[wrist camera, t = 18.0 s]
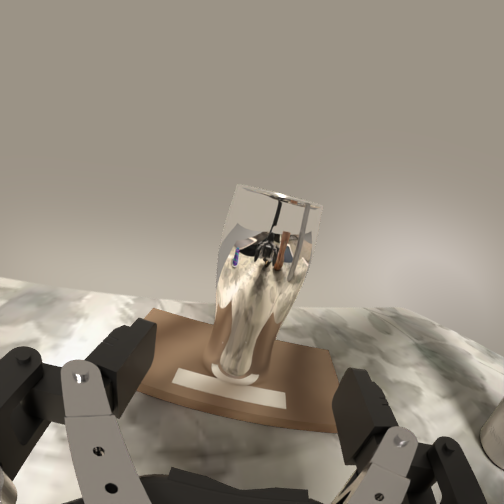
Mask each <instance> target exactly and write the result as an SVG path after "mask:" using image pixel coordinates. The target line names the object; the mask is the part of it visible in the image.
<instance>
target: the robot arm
mask: <svg viewBox="0 0 504 504" xmlns="http://www.w3.org/2000/svg"><path fill="white" fill-rule="evenodd" d="M156 332H157V324H156V323H154V322H151V321H148V320H145V319H142V318H138V319H137V320H136V321H135V322H134V323H133V324H132V326H131V327H129V326H126V325H123V326H121V327H118V328H116V329H114V330H113V331H112V332H111V333H110V334H109V335H108V337H106V338H105V339H104V340H103V342H101V343H100V344H99V345H98V346H97V347H96V348H95V350H94V351H93V352H92V353H91V354H90V355H89V356H88V357H87V358H86V359H85V360H73V361H69V362H67V363H66V364H65V365H64V366H63V367H58V366H53V365H49V364H45V363H42V359H41V355H40V354H39V352H38V351H37V350H35V349H33V348H31V347H24V346H22V347H17V348H14V349H12V350H11V351H10V352H8V353H7V354H6V355H5V356H4V357H3V358H2V359H0V504H16V501H17V490H16V487H15V485H14V484H13V482H12V481H13V480H14V478H15V476H16V475H17V473H18V472H19V470H20V468H21V467H22V465H23V464H24V462H25V460H26V459H27V457H28V456H29V454H30V453H31V451H32V450H33V448H34V447H35V445H36V443H37V442H38V440H39V439H40V437H41V436H42V435H43V433H44V432H45V430H46V429H47V427H48V426H49V424H50V423H51V421H52V422H56V423H60V424H64V425H65V426H66V431H67V437H68V442H69V447H70V452H71V456H72V461H73V465H74V469H75V473H76V476H77V480H78V484H79V487H80V490H81V494H82V498H79V499H76V500H73V501H70V502H66V503H63V504H323V503H321V502H319V501H316V500H313V499H309V497H308V490H303V489H287V488H266V489H253V490H239V489H236V488H233V487H231V486H228V485H226V484H223V483H221V482H218V481H216V480H214V479H211V478H209V477H207V476H203V475H199V474H195V473H191V472H187V471H184V470H180V469H177V468H173V467H171V470H170V473H169V475H163V474H153V475H144V476H138V474H137V472H136V470H135V467H134V465H133V462H132V460H131V458H130V455H129V453H128V450H127V447H126V445H125V442H124V440H123V437H122V434H121V431H120V428H119V425H118V423H117V420H116V418H118V419H120V417H121V415H122V414H123V412H124V410H125V409H126V407H127V405H128V404H129V402H130V400H131V399H132V397H133V395H134V394H135V392H136V390H137V389H138V387H139V385H140V384H141V382H142V380H143V379H144V377H145V375H146V374H147V372H148V370H149V369H150V367H151V365H152V362H153V359H154V353H155V342H156ZM388 405H389V404H388V402H387V400H386V399H385V395H384V393H383V391H382V389H381V388H380V387H379V386H378V385H377V384H376V383H375V382H372V381H371V379H370V377H369V374H368V372H367V371H366V370H363V369H356V368H348V369H347V370H346V372H345V374H344V376H343V378H342V380H341V382H340V384H339V386H338V388H337V390H336V392H335V394H334V396H333V399H332V410H333V415H334V419H335V423H336V427H337V432H338V436H339V440H340V445H341V449H342V454H343V458H344V463H345V465H356V467H357V469H356V470H355V471H354V472H353V474H352V475H351V477H350V478H349V479H348V481H347V482H346V484H345V485H344V487H343V488H342V489H341V491H340V492H339V493H338V495H337V496H336V497H335V499H334V500H333V501H332V502H331V504H436V501H435V497H434V494H433V491H432V489H431V486H432V485H433V484H434V483H436V482H438V485H439V488H440V490H441V493H442V500H441V503H440V504H487V502H486V500H485V497H484V495H483V493H482V490H481V488H480V486H479V484H478V481H477V479H476V477H475V475H474V473H473V471H472V469H471V467H470V465H469V463H468V461H467V459H466V457H465V455H464V453H463V451H462V449H461V447H460V445H459V444H458V443H457V442H456V441H455V440H454V439H452V438H450V437H439V438H438V439H437V440H436V441H435V442H434V443H433V445H429V444H423V443H419V442H418V441H417V438H416V436H415V435H414V434H413V433H412V432H411V431H410V430H408V429H406V428H404V427H399V425H398V423H397V421H396V419H395V417H394V415H393V412H392V410H391V408H390V406H388ZM480 438H481V443H482V446H483V448H484V450H485V452H486V454H487V455H488V456H489V458H490V459H491V460H492V461H493V462H494V463H495V464H496V465H498V466H499V467H500V468H502V469H504V397H503V399H502V400H501V402H500V403H499V405H498V406H497V407H496V409H495V410H494V412H493V413H492V415H491V416H490V417H489V419H488V420H487V421H486V423H485V424H484V425H483V427H482V429H481V432H480Z"/></svg>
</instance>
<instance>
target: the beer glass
mask: <svg viewBox="0 0 504 504" xmlns="http://www.w3.org/2000/svg"><path fill="white" fill-rule="evenodd" d="M322 210H323V206H322V205H319V204H317V203H313V202H310V201H307V200H303V199H300V198H296V197H293V196H289V195H285V194H281V193H277V192H273V191H269V190H265V189H261V188H257V187H252V186H247V185H243V184H237V187H236V190H235V193H234V197H233V200H232V203H231V206H230V209H229V212H228V215H227V219H226V222H225V226H224V230H223V233H222V237H221V243H220V248H219V253H218V263H217V279H216V309H215V320H214V326H213V329H212V333H211V335H210V338H209V340H208V342H207V345H206V347H205V349H204V352H203V356H202V360H203V364H204V366H205V368H206V369H207V370H208V371H209V372H210V373H211V374H212V375H213V376H215V377H216V378H218V379H220V380H222V381H225V382H227V383H231V384H235V385H252V384H256V383H259V382H261V381H263V380H264V379H265V378H266V377H267V376H268V374H269V371H270V366H271V357H272V350H273V346H274V342H275V339H276V337H277V334H278V332H279V330H280V328H281V326H282V324H283V322H284V320H285V318H286V317H287V315H288V313H289V311H290V309H291V307H292V305H293V303H294V301H295V300H296V298H297V296H298V294H299V292H300V289H301V287H302V285H303V283H304V281H305V278H306V275H307V273H308V270H309V267H310V264H311V260H312V257H313V253H314V249H315V245H316V241H317V236H318V231H319V226H320V220H321V215H322Z"/></svg>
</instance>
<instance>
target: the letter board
mask: <svg viewBox="0 0 504 504" xmlns="http://www.w3.org/2000/svg"><path fill="white" fill-rule="evenodd" d="M144 319H145V320H148V321H151V322H154V323H156V324H157V332H156V342H155V353H154V359H153V362H152V365H151V367H150V369H149V370H148V372H147V374H146V375H145V377H144V379H143V380H142V382H141V384H140V385H139V387H138V389H137V390H136V391H139V392H141V393H144V394H147V395H150V396H153V397H156V398H159V399H162V400H165V401H168V402H171V403H175V404H178V405H181V406H185V407H188V408H192V409H195V410H199V411H203V412H207V413H211V414H215V415H219V416H223V417H228V418H232V419H237V420H242V421H247V422H252V423H257V424H263V425H269V426H276V427H282V428H290V429H297V430H306V431H316V432H328V433H338V432H337V427H336V423H335V419H334V415H333V410H332V399H333V396H334V394H335V392H336V390H337V388H338V386H339V382H338V378H337V375H336V372H335V369H334V366H333V363H332V360H331V357H330V354H329V350H325V349H319V348H314V347H308V346H303V345H298V344H293V343H288V342H283V341H279V340H275V342H274V346H273V350H272V357H271V366H270V371H269V374H268V376H267V377H266V378H265V379H264V380H263V381H261V382H259V383H256V384H252V385H235V384H231V383H227V382H225V381H222V380H220V379H218V378H216V377H215V376H213V375H212V374H211V373H210V372H209V371H208V370H207V369H206V368H205V366H204V364H203V360H202V356H203V352H204V349H205V347H206V345H207V342H208V340H209V338H210V335H211V333H212V329H213V326H214V325H212V324H208V323H204V322H200V321H197V320H193V319H189V318H186V317H182V316H179V315H176V314H172V313H169V312H165V311H162V310H159V309H156V308H153V309H152V310H151V311H150V312H149V314H148V315H147V316H146V317H145V318H144Z"/></svg>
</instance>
